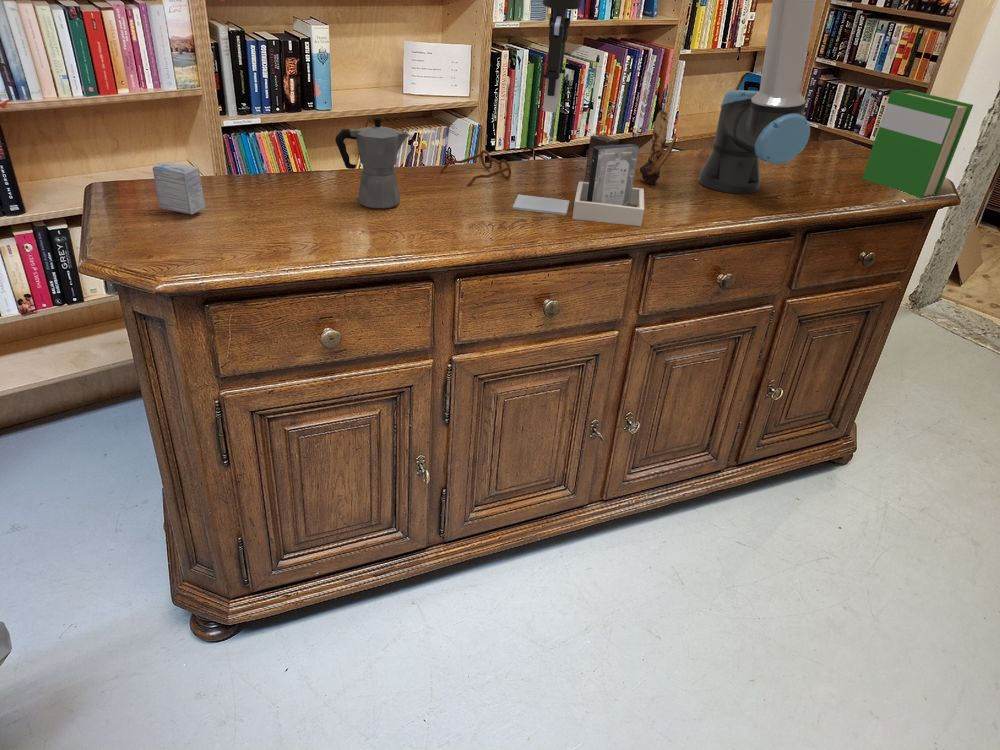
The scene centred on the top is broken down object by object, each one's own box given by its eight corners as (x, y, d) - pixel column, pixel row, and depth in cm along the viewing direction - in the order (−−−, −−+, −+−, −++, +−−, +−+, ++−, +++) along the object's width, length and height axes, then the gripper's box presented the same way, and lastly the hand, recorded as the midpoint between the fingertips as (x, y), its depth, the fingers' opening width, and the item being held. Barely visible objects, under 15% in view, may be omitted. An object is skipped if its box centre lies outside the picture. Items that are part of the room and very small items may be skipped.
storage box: (640, 205, 173) (643, 188, 171) (641, 227, 161) (644, 209, 159) (576, 197, 175) (578, 181, 173) (572, 219, 162) (574, 201, 160)
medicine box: (206, 209, 152) (199, 167, 148) (191, 215, 149) (184, 172, 144) (173, 202, 154) (167, 160, 150) (158, 208, 151) (151, 166, 146)
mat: (569, 202, 172) (569, 200, 171) (566, 215, 164) (566, 213, 164) (518, 196, 173) (518, 194, 172) (512, 209, 165) (512, 206, 165)
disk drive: (590, 216, 165) (599, 148, 157) (584, 211, 167) (593, 145, 159) (629, 212, 169) (640, 146, 161) (623, 208, 171) (633, 143, 163)
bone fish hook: (667, 192, 184) (681, 117, 174) (650, 192, 182) (663, 117, 173) (652, 180, 191) (664, 108, 182) (635, 180, 190) (647, 107, 180)
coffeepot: (404, 193, 169) (404, 112, 159) (412, 208, 161) (413, 123, 152) (336, 195, 165) (331, 111, 155) (341, 210, 157) (337, 123, 148)
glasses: (511, 182, 183) (513, 161, 181) (466, 188, 177) (467, 167, 174) (482, 167, 192) (483, 147, 190) (439, 172, 186) (439, 152, 183)
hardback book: (936, 200, 194) (973, 104, 181) (919, 203, 190) (955, 106, 178) (877, 180, 206) (908, 89, 194) (860, 182, 203) (891, 90, 190)
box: (612, 189, 183) (620, 139, 176) (600, 191, 180) (607, 141, 174) (595, 182, 186) (602, 133, 180) (582, 184, 184) (589, 135, 178)
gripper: (549, -20, 153) (537, 98, 165) (539, -14, 138) (528, 115, 150) (585, -16, 152) (571, 102, 164) (579, -10, 137) (564, 119, 149)
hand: (550, 108), depth 157 cm, fingers open, 5 cm apart
